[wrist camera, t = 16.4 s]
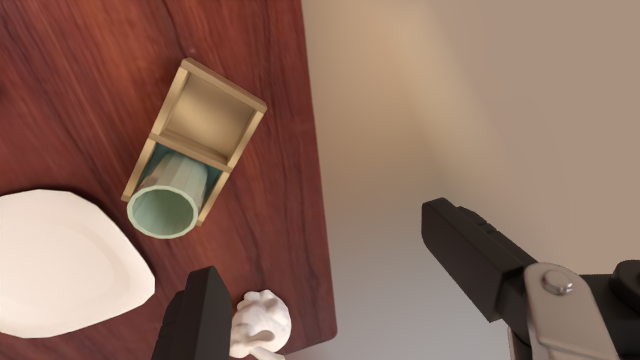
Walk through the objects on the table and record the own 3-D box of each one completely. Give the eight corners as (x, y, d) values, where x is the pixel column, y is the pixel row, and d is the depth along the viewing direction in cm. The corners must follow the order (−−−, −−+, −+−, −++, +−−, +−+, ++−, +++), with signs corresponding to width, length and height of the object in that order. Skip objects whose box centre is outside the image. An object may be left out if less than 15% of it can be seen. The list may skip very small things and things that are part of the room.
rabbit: (220, 305, 46) (213, 382, 35) (257, 269, 44) (260, 339, 34) (274, 327, 52) (281, 399, 41) (308, 296, 50) (324, 363, 40)
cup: (166, 142, 32) (141, 175, 24) (216, 164, 34) (208, 200, 26) (147, 183, 33) (117, 226, 25) (196, 201, 36) (183, 245, 28)
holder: (189, 57, 29) (183, 58, 26) (265, 102, 33) (267, 108, 30) (131, 185, 33) (120, 199, 30) (204, 211, 37) (200, 226, 34)
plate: (-125, 230, 29) (-145, 240, 28) (82, 168, 31) (74, 174, 30) (28, 339, 40) (19, 351, 38) (174, 288, 42) (172, 297, 40)
